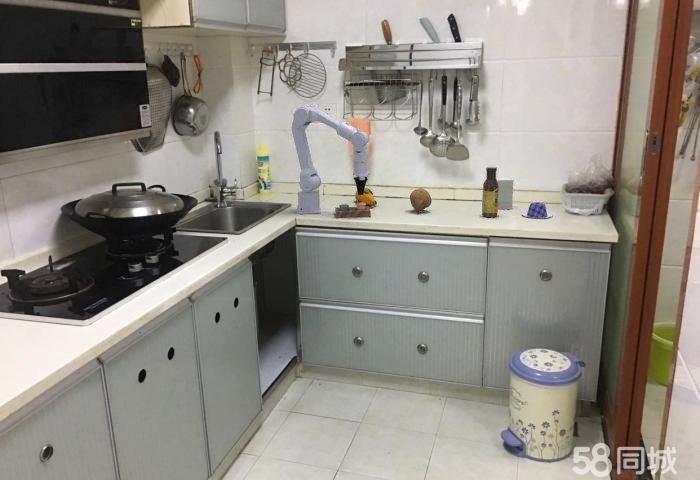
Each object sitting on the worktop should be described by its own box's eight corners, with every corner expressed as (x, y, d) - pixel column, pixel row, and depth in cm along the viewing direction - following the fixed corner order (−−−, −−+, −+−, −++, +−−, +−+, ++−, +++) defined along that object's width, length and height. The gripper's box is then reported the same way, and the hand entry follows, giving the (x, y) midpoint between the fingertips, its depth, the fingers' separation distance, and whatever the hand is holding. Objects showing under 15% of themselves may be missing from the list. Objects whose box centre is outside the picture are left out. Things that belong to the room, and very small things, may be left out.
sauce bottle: (497, 218, 236) (500, 168, 231) (481, 217, 237) (483, 168, 232) (497, 214, 242) (499, 166, 237) (481, 214, 243) (483, 166, 238)
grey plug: (339, 216, 243) (339, 206, 242) (339, 213, 247) (339, 204, 246) (349, 215, 243) (349, 206, 242) (348, 213, 247) (348, 204, 246)
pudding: (558, 218, 235) (559, 205, 233) (531, 220, 232) (532, 207, 231) (542, 212, 246) (542, 199, 245) (516, 214, 243) (516, 201, 242)
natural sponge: (426, 208, 255) (427, 186, 252) (434, 213, 246) (435, 189, 244) (406, 210, 252) (407, 187, 250) (414, 214, 244) (414, 191, 241)
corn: (366, 183, 273) (381, 191, 255) (368, 199, 276) (382, 208, 257) (351, 185, 272) (365, 193, 253) (352, 202, 274) (366, 210, 255)
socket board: (336, 218, 241) (336, 212, 240) (335, 213, 249) (335, 207, 249) (370, 217, 242) (370, 211, 241) (368, 212, 250) (368, 206, 250)
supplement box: (512, 209, 251) (514, 179, 248) (494, 209, 251) (496, 180, 248) (508, 205, 258) (509, 177, 255) (491, 205, 258) (492, 177, 255)
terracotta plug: (356, 214, 243) (356, 204, 242) (355, 211, 247) (355, 202, 246) (366, 213, 244) (366, 204, 243) (365, 211, 247) (365, 202, 246)
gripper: (372, 164, 233) (372, 197, 237) (368, 159, 247) (368, 191, 251) (354, 164, 233) (354, 198, 236) (351, 159, 246) (351, 191, 250)
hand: (360, 194), depth 243 cm, fingers closed
